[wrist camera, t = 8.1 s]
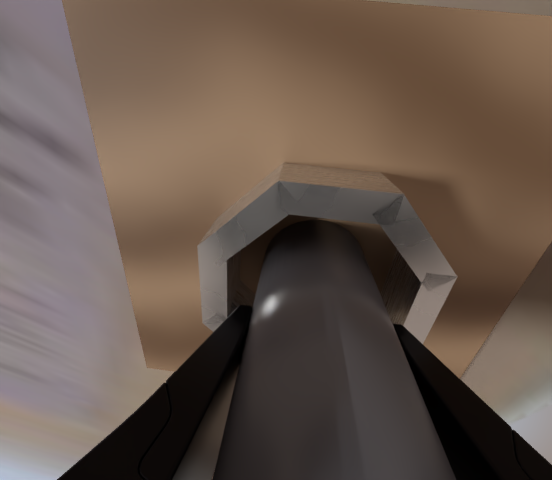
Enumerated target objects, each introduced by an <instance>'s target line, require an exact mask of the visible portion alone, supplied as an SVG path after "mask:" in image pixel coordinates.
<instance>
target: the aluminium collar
mask: <svg viewBox="0 0 552 480" xmlns="http://www.w3.org/2000/svg"><path fill="white" fill-rule="evenodd" d="M289 214H290V215H299V216H308V217H317V218H326V219H335V220H344V221H353V222H362V223H371V224H379V225H380V226H381V227H382V229H383V230H384V232H385V233H386V234H387V236H388V237H389V238H390V240H391V241H392V243H393V244H394V245H395V247H396V248H397V250H396V252H395V255H394V258H393V261H392V264H391V266H390V269H389V272H388V275H387V278H386V281H385V283H384V286H383V289H382V292H381V297H382V300H383V302H384V304H385V307H386V309H387V312H388V314H389V317H390V319H391V322H392V323H394V324H401V325H403V326H404V327H405V328H406V329H407V330H408V331H409V332H410V333H411V334H413V335H414V336H415V337H416V338H417V339H418V340H419V341H420V342H421V343H422V344H423V343H424V341H425V339H426V337H427V335H428V333H429V331H430V329H431V327H432V325H433V323H434V322H435V320H436V318H437V316H438V314H439V312H440V310H441V308H442V306H443V304H444V302H445V300H446V298H447V296H448V294H449V292H450V290H451V288H452V286H453V284H454V283H455V281H456V279H457V277H458V276H457V275H456V274H455V272H454V271H453V269H452V268H451V266H450V265H449V263H448V262H447V260H446V258H445V257H444V255H443V254H442V252H441V251H440V249H439V248H438V246H437V245H436V243H435V241H434V240H433V238H432V237H431V235H430V234H429V232H428V231H427V229H426V228H425V226H424V225H423V223H422V221H421V220H420V218H419V217H418V215H417V214H416V212H415V211H414V209H413V208H412V206H411V204H410V203H409V201H408V200H407V198H406V197H405V195H404V193H403V192H402V191H400V190H399V189H398V188H397V187H396V186H395V185H394V184H393V183H392V182H391V181H389V180H388V179H387V178H386V177H385V176H384V175H383V174H382V173H380V172H370V171H361V170H351V169H342V168H332V167H323V166H313V165H304V164H294V163H285V162H283V163H282V164H281V165H280V166H279V167H278V168H276V169H275V170H274V171H273V172H272V173H270V174H269V175H268V176H267V177H266V178H264V179H263V180H262V181H261V182H260V183H258V184H257V185H256V186H255V187H254V188H252V189H251V190H250V191H249V192H248V193H246V194H245V195H244V196H243V197H242V198H240V199H239V200H238V201H237V202H236V203H234V204H233V205H232V206H231V207H230V208H228V209H227V210H226V211H225V212H224V213H222V214H221V215H220V216H219V217H217V219H216V220H215V222H214V223H213V225H212V226H211V227H210V229H209V230H208V232H207V233H206V234H205V236H204V237H203V239H202V240H201V241H200V243H199V244H198V246H197V248H198V263H199V278H200V293H201V308H202V323H203V324H204V325H205V326H207V327H208V328H209V329H210V330H212V331H213V332H214V331H215V330H216V329H217V328H218V327H219V326H220V325H221V324H222V323H223V322H224V321H225V320H226V319H227V317H228V316H229V315H230V314H231V313H232V312H233V311H234V310H235V309H236V308H237V307H238V306H239V305H249V306H252V308H253V304H254V299H255V294H254V293H253V292H252V291H251V290H250V289H249V288H248V287H247V286H246V285H245V284H244V283H243V282H242V281H241V280H240V265H241V249H243V248H244V247H245V246H247V245H248V244H249V243H251V242H252V241H254V240H255V239H256V238H258V237H259V236H260V235H262V234H263V233H264V232H266V231H267V230H269V229H270V228H271V227H273V226H274V225H275V224H277V223H278V222H279V221H281V220H282V219H284V218H285V217H286V216H288V215H289Z"/></svg>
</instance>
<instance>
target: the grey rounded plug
mask: <svg viewBox="0 0 552 480" xmlns="http://www.w3.org/2000/svg"><path fill="white" fill-rule="evenodd" d="M213 480H456V478H455V475H454V473H453V471H452V468H451V466H450V463H449V461H448V458H447V456H446V453H445V451H444V449H443V446H442V444H441V441H440V439H439V436H438V434H437V431H436V429H435V427H434V424H433V422H432V419H431V417H430V414H429V412H428V409H427V407H426V405H425V402H424V400H423V397H422V395H421V392H420V390H419V387H418V385H417V383H416V380H415V378H414V375H413V373H412V370H411V368H410V365H409V363H408V361H407V358H406V356H405V353H404V351H403V348H402V346H401V343H400V341H399V339H398V336H397V334H396V331H395V329H394V326H393V324H392V322H391V319H390V317H389V314H388V312H387V309H386V307H385V304H384V302H383V300H382V297H381V295H380V292H379V290H378V287H377V285H376V282H375V280H374V278H373V275H372V273H371V270H370V268H369V265H368V263H367V260H366V258H365V256H364V253H363V251H362V248H361V246H360V244H359V242H358V241H357V239H356V238H355V237H354V236H353V235H352V234H351V233H350V232H349V231H348V230H347V229H345V228H343V227H342V226H340V225H338V224H335V223H332V222H329V221H324V220H305V221H300V222H297V223H294V224H292V225H289V226H287V227H286V228H284V229H282V230H281V231H280V232H279V233H277V234H276V235H275V236H274V238H273V239H272V240H271V242H270V243H269V245H268V247H267V249H266V253H265V256H264V261H263V265H262V269H261V274H260V278H259V282H258V286H257V291H256V295H255V299H254V304H253V308H252V313H251V317H250V321H249V326H248V330H247V334H246V339H245V343H244V347H243V351H242V355H241V360H240V364H239V368H238V373H237V377H236V381H235V385H234V390H233V394H232V398H231V403H230V407H229V411H228V416H227V420H226V424H225V428H224V433H223V437H222V441H221V446H220V450H219V454H218V459H217V463H216V467H215V471H214V476H213Z"/></svg>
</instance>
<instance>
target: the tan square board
mask: <svg viewBox="0 0 552 480" xmlns="http://www.w3.org/2000/svg"><path fill="white" fill-rule="evenodd" d="M62 3H63V7H64V12H65V16H66V20H67V24H68V29H69V33H70V37H71V42H72V46H73V50H74V55H75V59H76V63H77V68H78V72H79V76H80V81H81V85H82V89H83V94H84V98H85V102H86V106H87V111H88V115H89V119H90V124H91V128H92V132H93V137H94V141H95V145H96V150H97V154H98V158H99V163H100V167H101V171H102V176H103V180H104V184H105V188H106V193H107V197H108V201H109V206H110V210H111V214H112V219H113V223H114V227H115V232H116V236H117V240H118V245H119V249H120V253H121V257H122V262H123V266H124V270H125V275H126V279H127V283H128V288H129V292H130V296H131V301H132V305H133V309H134V314H135V318H136V322H137V327H138V331H139V335H140V339H141V344H142V348H143V352H144V357H145V361H146V365H147V368H153V369H161V370H168V371H176V370H177V369H178V368H179V367H180V366H181V365H182V364H183V363H184V362H185V361H186V360H187V359H188V358H189V357H190V356H191V355H192V354H193V353H194V351H195V350H196V349H197V348H198V347H199V346H200V345H201V344H202V343H203V342H204V341H205V340H206V339H207V338H208V337H209V336H210V335H211V334H212V333H213V331H212V330H210V329H209V328H208V327H207V326H205V325H204V324H203V323H202V308H201V293H200V278H199V263H198V248H197V246H198V244H199V243H200V241H201V240H202V239H203V237H204V236H205V234H206V233H207V232H208V230H209V229H210V227H211V226H212V225H213V223H214V222H215V220H216V219H217V217H219V216H220V215H221V214H222V213H224V212H225V211H226V210H227V209H228V208H230V207H231V206H232V205H233V204H234V203H236V202H237V201H238V200H239V199H240V198H242V197H243V196H244V195H245V194H246V193H248V192H249V191H250V190H251V189H252V188H254V187H255V186H256V185H257V184H258V183H260V182H261V181H262V180H263V179H264V178H266V177H267V176H268V175H269V174H270V173H272V172H273V171H274V170H275V169H276V168H278V167H279V166H280V165H281V164H282V163H283V162H285V163H294V164H304V165H313V166H323V167H332V168H342V169H351V170H361V171H370V172H380V173H382V174H383V175H384V176H385V177H386V178H387V179H388V180H389V181H391V182H392V183H393V184H394V185H395V186H396V187H397V188H398V189H399V190H400V191H402V192H403V193H404V195H405V197H406V198H407V200H408V201H409V203H410V204H411V206H412V208H413V209H414V211H415V212H416V214H417V215H418V217H419V218H420V220H421V221H422V223H423V225H424V226H425V228H426V229H427V231H428V232H429V234H430V235H431V237H432V238H433V240H434V241H435V243H436V245H437V246H438V248H439V249H440V251H441V252H442V254H443V255H444V257H445V258H446V260H447V262H448V263H449V265H450V266H451V268H452V269H453V271H454V272H455V274H456V275H457V276H458V277H457V279H456V281H455V283H454V284H453V286H452V288H451V290H450V292H449V294H448V296H447V298H446V300H445V302H444V304H443V306H442V308H441V310H440V312H439V314H438V316H437V318H436V320H435V322H434V323H433V325H432V327H431V329H430V331H429V333H428V335H427V337H426V339H425V341H424V343H423V345H424V346H425V347H426V348H427V349H428V350H430V351H431V352H432V353H433V354H434V355H435V356H436V357H437V358H438V359H439V360H440V361H441V362H442V363H443V364H444V365H445V366H447V367H448V368H449V369H450V370H451V371H452V372H453V373H454V374H455V375H456V376H457V377H458V378H459V379H460V377H461V376H462V374H463V373H464V371H465V370H466V368H467V367H468V365H469V364H470V362H471V361H472V359H473V358H474V356H475V355H476V353H477V352H478V350H479V349H480V348H481V346H482V345H483V343H484V342H485V340H486V339H487V337H488V336H489V334H490V333H491V331H492V330H493V328H494V327H495V325H496V324H497V322H498V321H499V319H500V318H501V316H502V315H503V313H504V312H505V310H506V309H507V307H508V306H509V304H510V303H511V301H512V300H513V298H514V297H515V295H516V294H517V292H518V291H519V289H520V288H521V286H522V285H523V283H524V282H525V280H526V279H527V277H528V276H529V275H530V273H531V272H532V270H533V269H534V267H535V266H536V264H537V263H538V261H539V260H540V258H541V257H542V255H543V254H544V252H545V251H546V249H547V248H548V246H549V245H550V243H551V242H552V16H543V15H531V14H519V13H507V12H495V11H483V10H471V9H459V8H448V7H436V6H424V5H412V4H400V3H388V2H376V1H364V0H62ZM305 220H324V221H329V222H332V223H335V224H338V225H340V226H342V227H343V228H345V229H347V230H348V231H349V232H350V233H351V234H352V235H353V236H354V237H355V238H356V239H357V241H358V242H359V244H360V246H361V248H362V251H363V253H364V256H365V258H366V260H367V263H368V265H369V268H370V270H371V273H372V275H373V278H374V280H375V282H376V285H377V287H378V290H379V292H380V295H381V292H382V289H383V286H384V283H385V281H386V278H387V275H388V272H389V269H390V266H391V264H392V261H393V258H394V255H395V252H396V250H397V248H396V247H395V245H394V244H393V243H392V241H391V240H390V238H389V237H388V236H387V234H386V233H385V232H384V230H383V229H382V227H381V226H380V225H379V224H371V223H362V222H353V221H344V220H335V219H326V218H317V217H308V216H299V215H290V214H289V215H288V216H286V217H285V218H284V219H282V220H281V221H279V222H278V223H277V224H275V225H274V226H273V227H271V228H270V229H269V230H267V231H266V232H264V233H263V234H262V235H260V236H259V237H258V238H256V239H255V240H254V241H252V242H251V243H249V244H248V245H247V246H245V247H244V248H243V249H241V265H240V280H241V281H242V282H243V283H244V284H245V285H246V286H247V287H248V288H249V289H250V290H251V291H252V292H253V293H254V294H255V295H256V291H257V286H258V282H259V278H260V274H261V269H262V265H263V261H264V256H265V253H266V249H267V247H268V245H269V243H270V242H271V240H272V239H273V238H274V236H275V235H276V234H277V233H279V232H280V231H281V230H282V229H284V228H286V227H287V226H289V225H292V224H294V223H297V222H300V221H305Z"/></svg>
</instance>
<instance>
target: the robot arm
mask: <svg viewBox="0 0 552 480" xmlns="http://www.w3.org/2000/svg"><path fill="white" fill-rule="evenodd" d="M251 313H252V306H249V305H239V306H238V307H237V308H236V309H235V310H234V311H233V312H232V313H231V314H230V315H229V316H228V317H227V319H226V320H225V321H224V322H223V323H222V324H221V325H220V326H219V327H218V328H217V329H216V330H215V331H214V332H213V333H212V334H211V335H210V336H209V337H208V338H207V339H206V340H205V341H204V342H203V343H202V344H201V345H200V346H199V347H198V348H197V349H196V350H195V351H194V353H193V354H192V355H191V356H190V357H189V358H188V359H187V360H186V361H185V362H184V363H183V364H182V365H181V366H180V367H179V368H178V369H177V370H176V371H175V372H174V373H173V374H172V375H171V376H170V377H169V378H168V379H167V380H166V383H163V384H162V385H161V386H160V387H159V388H158V389H157V391H156V392H155V393H154V394H153V395H152V396H151V397H150V398H149V399H148V400H147V401H146V402H145V403H143V404H142V405H141V406H140V407H139V408H138V409H137V410H136V411H135V412H134V413H133V414H132V415H131V416H130V417H129V418H127V419H126V420H125V421H124V422H123V423H122V424H121V425H120V426H119V427H117V428H116V429H115V430H114V431H113V432H112V433H111V434H109V435H108V436H107V437H106V438H105V439H104V440H102V441H101V442H100V443H99V444H98V445H97V446H96V447H94V448H93V449H92V450H91V451H90V452H89V453H87V454H86V455H85V456H84V457H83V458H82V459H80V460H79V461H78V462H77V463H76V464H75V465H73V466H72V467H71V468H70V469H69V470H68V471H67V472H65V473H64V474H63V475H62V476H61V477H60V478H58V479H57V480H212V476H213V473H214V470H215V466H216V463H217V459H218V454H219V450H220V446H221V441H222V437H223V433H224V428H225V424H226V420H227V416H228V411H229V407H230V403H231V398H232V394H233V390H234V385H235V381H236V377H237V373H238V368H239V364H240V360H241V355H242V351H243V347H244V343H245V339H246V334H247V330H248V326H249V321H250V317H251ZM392 324H393V326H394V329H395V331H396V334H397V336H398V339H399V341H400V343H401V346H402V348H403V351H404V353H405V356H406V358H407V361H408V363H409V365H410V368H411V370H412V373H413V375H414V378H415V380H416V383H417V385H418V387H419V390H420V392H421V395H422V397H423V400H424V402H425V405H426V407H427V409H428V412H429V414H430V417H431V419H432V422H433V424H434V427H435V429H436V431H437V434H438V436H439V439H440V441H441V444H442V446H443V449H444V451H445V453H446V456H447V458H448V461H449V463H450V466H451V468H452V471H453V473H454V475H455V478H456V480H552V465H551V464H550V463H549V462H548V461H547V460H546V459H545V458H544V457H543V456H541V455H540V454H539V453H538V452H537V451H536V450H535V449H534V448H532V446H531V445H529V444H528V443H527V442H526V441H525V440H524V439H523V438H522V437H521V436H520V435H519V434H518V433H517V432H516V431H514V430H512V429H511V427H510V426H509V425H508V424H507V423H506V422H505V421H504V420H503V419H502V418H501V417H500V416H499V415H498V414H496V413H495V412H494V411H493V410H492V409H491V408H490V407H489V406H488V405H487V404H486V403H485V402H484V401H483V400H482V399H481V398H479V397H478V396H477V395H476V394H475V393H474V392H473V391H472V390H471V389H470V388H469V387H468V386H467V385H466V384H465V383H464V382H462V381H461V380H460V379H459V378H458V377H457V376H456V375H455V374H454V373H453V372H452V371H451V370H450V369H449V368H448V367H447V366H445V365H444V364H443V363H442V362H441V361H440V360H439V359H438V358H437V357H436V356H435V355H434V354H433V353H432V352H431V351H430V350H428V349H427V348H426V347H425V346H424V345H423V344H422V343H421V342H420V341H419V340H418V339H417V338H416V337H415V336H414V335H413V334H411V333H410V332H409V331H408V330H407V329H406V328H405V327H404V326H403V325H401V324H394V323H392Z"/></svg>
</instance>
